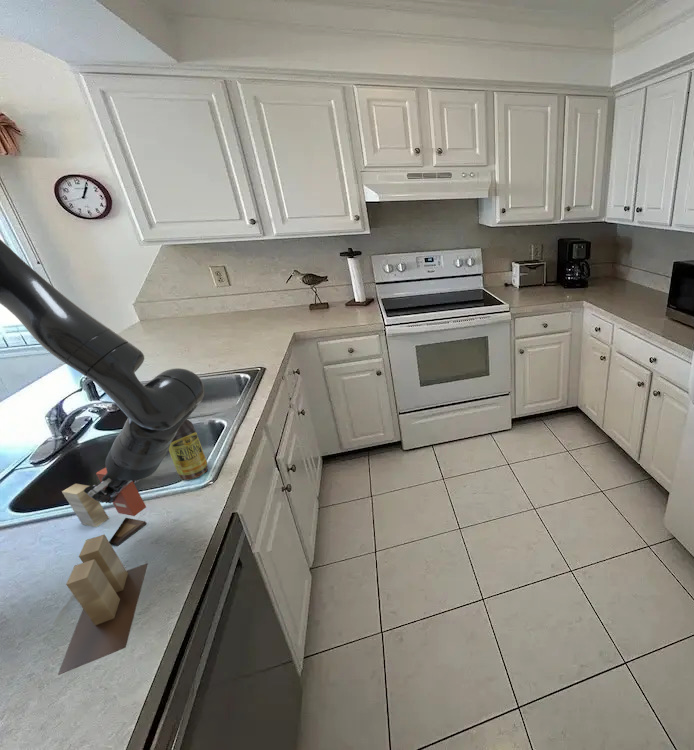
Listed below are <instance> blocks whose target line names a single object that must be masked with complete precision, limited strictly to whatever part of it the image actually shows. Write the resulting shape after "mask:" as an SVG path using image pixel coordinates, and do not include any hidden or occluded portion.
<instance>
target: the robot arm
mask: <svg viewBox="0 0 694 750" xmlns="http://www.w3.org/2000/svg"><path fill="white" fill-rule="evenodd" d="M0 305H1V306H3V307H4V308H6V310H8V311H9V312H10V313H11V314H12V315H13V316H15V318H16V319H17V320H19V322H20V323H21V324H22V325H23V327H24V328H25V330H27V331H28V333H29V334H30V335H31V336H32V337H33V339H34V340H35V341H36V342H37V343H38V344H39V345H40V346H42V347H43V348H44V349H45V351H47V352H48V353H49V354H51V355H52V356H53V357H55V358H56V359H58V360H60V361H61V362H62V363H63V364H65V365H66V366H69V367H70V368H72V369H73V370H75V371H77V372H78V373H79V374H81V375H83V376H84V377H86V378H87V379H89V380H91V381H93V382H94V383H95V384H96V385H97V386H98V387H99V388H100V389H101V390H102V391H103V392H104V393H105V395H107V396H108V397H109V398H110V399H111V400H112V401H113V402H114V404H116V406H117V407H118V408H119V409H120V410H121V412H122V413H123V414H124V415H125V416H126V417H127V419H126V421H125V422H124V425H123V427H122V429H121V430H120V432H119V433H118V434H117V436H116V437H115V439H114V441H113V443H112V445H111V447H110V449H109V451H108V453H107V456H106V458H105V460H104V465H105V467H106V469H107V474H106V475H105V476H104V477H103V478H102V481H103V482H102V483H101V482H100V483H99V484H98V485H97V484H93V485H88V486H89V487H87V488H85V490H84V492H85V493H87V494H88V495H89V496H91V497H92V498H93V499H95V500H96V501H99V502H100V503H102V504H103V503H105V504H113V503H112V502H114V501H115V499H116V497H117V496H118V494H119V492H121V491H122V490H124V489H125V488H126V487H127V486H128V484H129V483H130V482H132V481H133V483H134V484H136V483H138V482H139V481H140V480H143V479H146V478H148V477H150V476H151V475H153V474H154V473H155V472H156V471H157V470H158V468H159V467H160V465H161V463H162V461H164V458H165V457H166V456H167V453H168V452H169V447H170V444H171V442H172V440H173V439H174V437H175V435H176V433H177V431H178V429H179V428H180V426H181V425H182V424H183V422H184V421H185V420H186V419H187V420H188V418H189V417H190V416H191V415H192V413H193V412H194V411H195V410H196V409H197V407H198V406H199V405H200V403H201V402H202V400H203V398H204V396H205V385H204V383H203V381H202V379H201V378H200V376H198V375H197V374H196V373H195V372H193V371H191V370H189V369H186V368H175V367H174V368H170V369H166V370H163V371H162V372H160V373H158V374H157V375H156V376H155V377H153V379H151V380H150V381H148V382H147V383H146V384H143V383H142V382H141V381H140V380H139V378H138V377H137V375H136V372H137V371H138V370H139V368H140V367H141V366H142V364H143V363H144V361H145V355H144V353H143V351H142V350H141V349H139V348H138V347H136V346H135V345H134V344H132V343H131V342H129V341H128V340H126V339H125V338H123V337H122V336H121V335H120V334H118V333H117V332H115V331H113V330H112V329H111V328H109V327H107V326H106V325H105V324H104V323H102V322H101V321H99V320H98V319H96V318H95V317H93V316H92V315H91V314H89V313H87V312H86V311H85V310H83V309H82V308H81V307H79V306H78V305H77V304H75V303H74V302H73V301H72V300H70V299H69V298H67V296H65V295H64V294H63V293H62V292H60V291H59V290H57V288H55V287H54V286H53V285H52V284H50V282H48V281H47V280H46V279H45V278H43V277H42V276H41V275H40V274H39V273H38V272H37V271H35V270H34V269H33V268H32V267H31V266H30V265H29V264H28V263H26V262H25V261H24V260H23V259H22V258H21V257H20V256H19V255H18V254H17V253H16V252H15V251H14V250H13V249H11V248H10V247H9V246H8V245H7V244H6V243H5V242H4V241H3V240H2V239H1V238H0Z"/></svg>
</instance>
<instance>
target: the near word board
mask: <svg viewBox="0 0 694 750" xmlns="http://www.w3.org/2000/svg"><path fill="white" fill-rule="evenodd" d="M109 541H110V540H109V539H108V538H107V536H106V535H105V534H101V535H98V536H95V537H91V538H89V539H86V540H85V542H84V544H83V546H82V548H81V551H80V553H79V555H78V558H79V560H80V561H81V563H79V564H78V563H77V564H75V565H73V568H72V571H71V572H70V575H69V577H68V579H67V581H66V584H65V585H66V586H67V588H68V589H69V591H70V592H71V594H72V595H73V597H74V598H75V599H76V601H77V602H78V604H79V605H80V606H81V608H82V610H81V613H80V616H79V618H78V620H77V623H76V626H75V629H74V632H73V634H72V636H71V638H70V641H69V644H68V646H67V647H68V648H67V649H66V652H65V655H64V657H63V660H62V662H61V665H60V667H59V670H58V673H57V676H60V675H62V674H64V673H67V672H69V671H72V670H74V669H76V668H79V667H82V666H84V665H86V664H89V663H91V662H94V661H96V660H100V659H102V658H104V657H106V656H109V655H111V654H114V653H116V652H118V651H121V650H123V649H126V648H127V644H128V641H129V636H130V632H131V629H132V625H133V621H134V617H135V613H136V610H137V606H138V602H139V599H140V594H141V591H142V586H143V582H144V580H145V576H146V571H147V568H148V563H145V564H142V565H138V566H135V567H133V568H130V569H126V567H125V566H124V564H123V563H122V560H121V559H120V557H119V556H118V554H117V552H116V551H115V549H114V548H113V545H112V544H110V543H109Z"/></svg>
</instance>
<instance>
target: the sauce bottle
mask: <svg viewBox="0 0 694 750" xmlns="http://www.w3.org/2000/svg"><path fill="white" fill-rule="evenodd" d="M168 452H169V455H170V457H171V460H172V463H173V465H174V468H175V469H176V473H177V474H178V476H179V478H180V479H181V480H182V481H183V480H184V481H189V480H194V479H198V478H200V477H202V476H203V475H204V474H205V473H207V472H208V470H207V469H209V467H208V460H207V458H206V455H205V453H204V450H203V447H202V443H201V442H200V439H199V435H198V433H197V431H196V428H195V426H194V424H193V422H192V421H191V420H189V419H188V418H187V419H186V420H185V421H184V422H183V424H182V425H181V426H180V428H179V429H178V431H177V433H176V435H175V437H174V439H173V440H172V442H171V444H170V447H169V450H168Z"/></svg>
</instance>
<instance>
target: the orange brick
mask: <svg viewBox="0 0 694 750" xmlns="http://www.w3.org/2000/svg"><path fill="white" fill-rule="evenodd" d="M95 474H96V476H97V478H98V480H99V482H100V483H102V482H103V481H102V478H103V477H104V476H105V475H106V474H107V469H106V466H105V467H104V468H102V469H100V470H99V471H97V472H96V473H95ZM135 484H136V483H135ZM135 484H134V483H133V481H132V482H130V483H129V484H128V486H127V487H126V488H125V489H124V490H122V491H121V492H119V494H118V496H117V497H116V499H115V501H114V502H112V503H111V504H113V507H114V508H115V510H116V511H117V513H118V514H120V515H125V516H131V517H135V516H136V515H138V514H140V513H141V512H142V511H144V510H145V509H146V508H147V505H146V503H145V501H144V500H143V498H142V496H141V494H140V492H139V489H138V488H137V486H136V485H135Z"/></svg>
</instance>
